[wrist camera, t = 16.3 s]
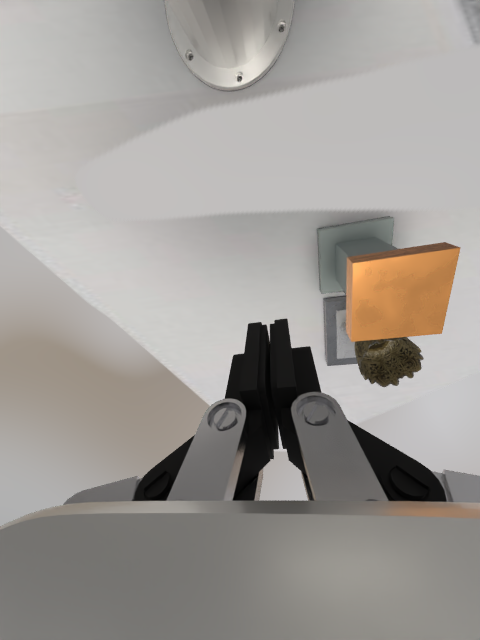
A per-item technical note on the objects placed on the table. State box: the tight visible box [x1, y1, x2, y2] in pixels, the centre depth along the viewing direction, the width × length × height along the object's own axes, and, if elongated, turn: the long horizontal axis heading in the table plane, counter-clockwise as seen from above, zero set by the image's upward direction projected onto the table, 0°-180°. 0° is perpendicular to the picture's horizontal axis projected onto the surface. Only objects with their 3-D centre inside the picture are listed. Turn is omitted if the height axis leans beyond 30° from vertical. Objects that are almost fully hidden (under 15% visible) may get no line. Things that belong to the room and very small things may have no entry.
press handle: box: [346, 242, 460, 342], centre depth 28 cm, size 8×8×12 cm
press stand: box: [317, 216, 397, 294], centre depth 30 cm, size 9×9×12 cm
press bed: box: [324, 296, 358, 366], centre depth 40 cm, size 12×12×2 cm
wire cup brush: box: [354, 337, 423, 387], centre depth 35 cm, size 8×7×8 cm
